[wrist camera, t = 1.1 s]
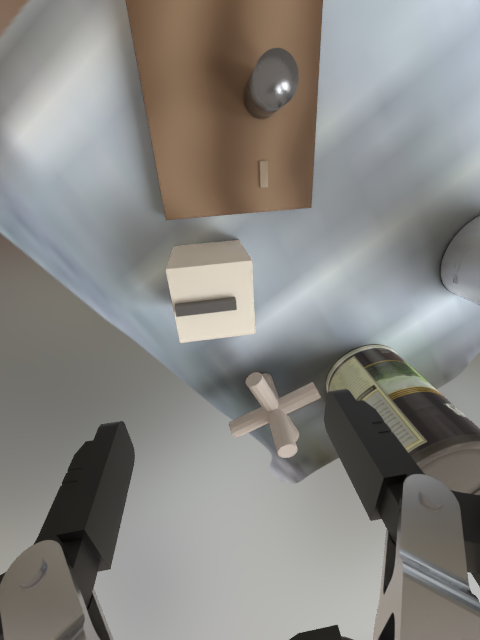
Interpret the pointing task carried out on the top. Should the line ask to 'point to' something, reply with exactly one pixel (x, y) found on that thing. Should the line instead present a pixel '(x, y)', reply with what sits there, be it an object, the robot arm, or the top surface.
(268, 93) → the metal cylinder puck
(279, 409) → the pipe connector
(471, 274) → the robot arm
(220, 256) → the cream rectangular block
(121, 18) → the top surface
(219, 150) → the board
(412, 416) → the coffee can
